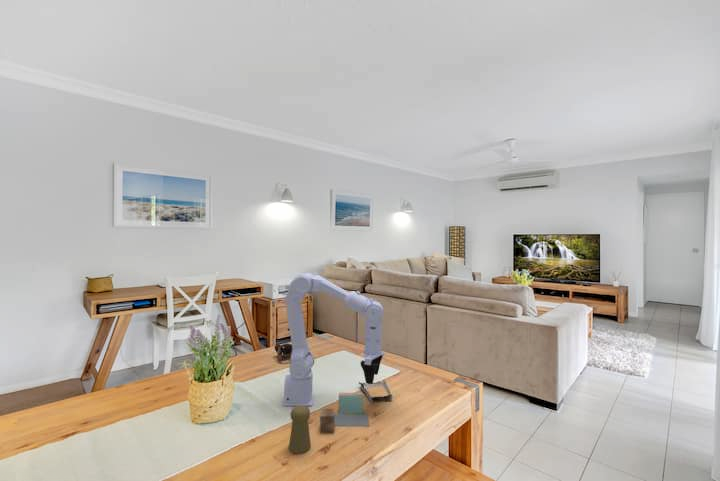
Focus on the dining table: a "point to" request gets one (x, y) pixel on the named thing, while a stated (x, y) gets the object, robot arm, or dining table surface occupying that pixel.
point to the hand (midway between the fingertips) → (371, 378)
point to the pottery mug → (283, 351)
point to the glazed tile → (351, 402)
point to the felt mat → (351, 420)
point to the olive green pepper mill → (300, 430)
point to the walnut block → (327, 421)
